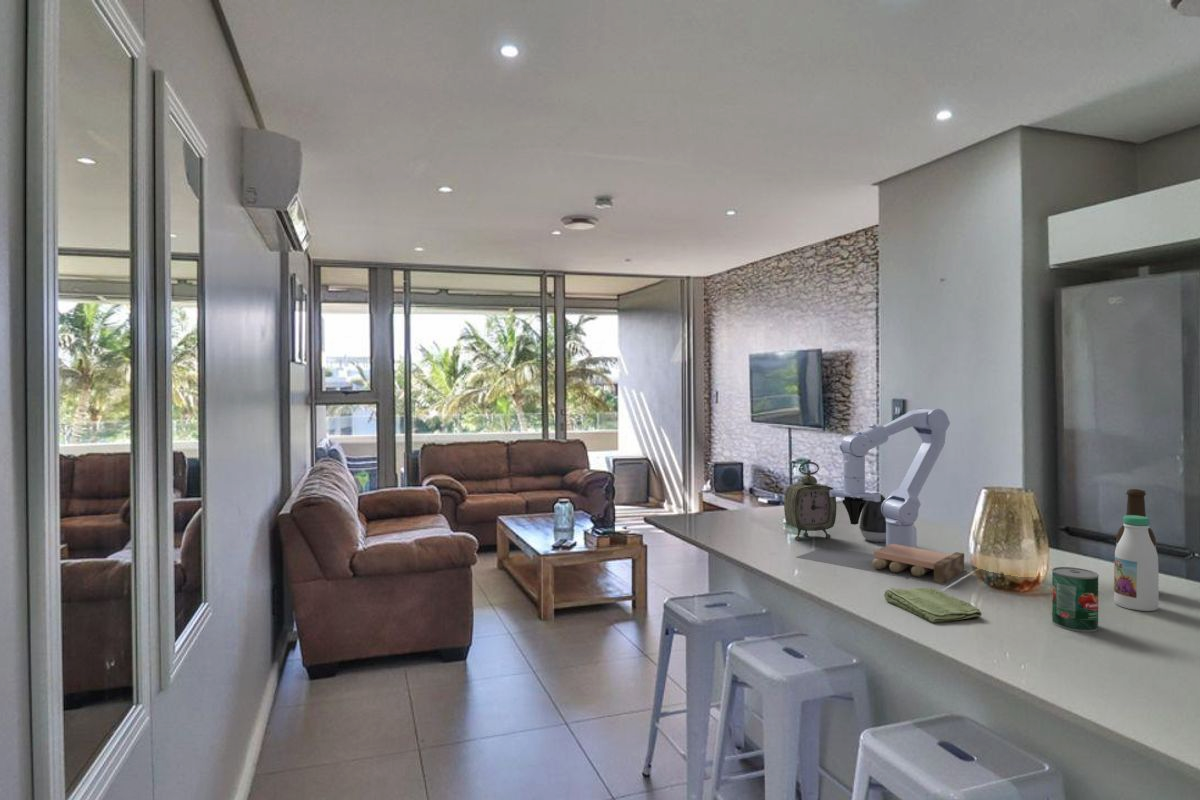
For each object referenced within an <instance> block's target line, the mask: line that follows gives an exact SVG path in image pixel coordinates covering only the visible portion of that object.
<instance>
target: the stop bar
mask: <svg viewBox="0 0 1200 800" xmlns="http://www.w3.org/2000/svg"><path fill="white" fill-rule="evenodd" d="M949 555H950V556H948V557H946V558H944V559H942V560H940V561H938V562H936V563H934V582H937V583H944V582H946V581H948V580H949V579H951V578H953V577H954V576H956V575H958V574H960V573H961V572H963V571H964V570H965V553H964V552H958V551H957V552H954V553H952V554H949Z"/></svg>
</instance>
